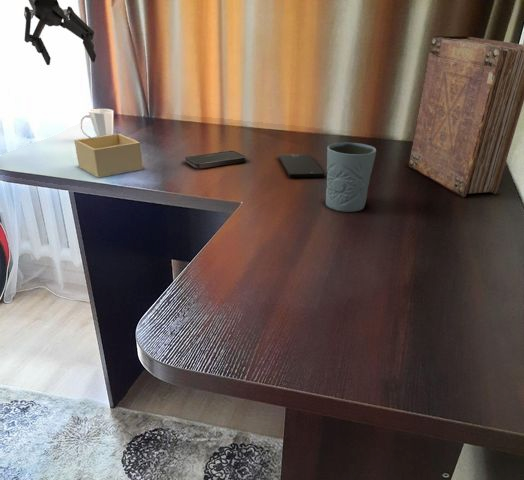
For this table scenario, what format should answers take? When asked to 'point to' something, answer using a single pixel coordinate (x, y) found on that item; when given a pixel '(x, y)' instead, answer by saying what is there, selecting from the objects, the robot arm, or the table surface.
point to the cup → (100, 121)
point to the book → (468, 112)
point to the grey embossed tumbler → (348, 175)
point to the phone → (215, 159)
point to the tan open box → (108, 155)
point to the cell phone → (300, 165)
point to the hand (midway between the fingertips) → (72, 60)
